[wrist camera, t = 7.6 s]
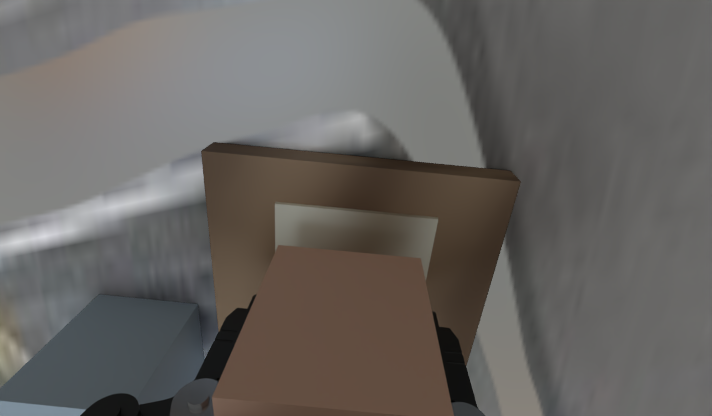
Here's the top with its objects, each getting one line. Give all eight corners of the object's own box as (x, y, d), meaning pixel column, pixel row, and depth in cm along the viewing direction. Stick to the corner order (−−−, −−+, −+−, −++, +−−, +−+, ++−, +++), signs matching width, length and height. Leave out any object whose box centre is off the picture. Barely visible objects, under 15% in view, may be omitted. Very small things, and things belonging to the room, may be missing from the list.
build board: (510, 170, 15) (522, 183, 14) (459, 352, 19) (465, 375, 18) (213, 142, 15) (199, 152, 14) (228, 330, 19) (218, 351, 18)
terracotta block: (420, 258, 13) (454, 420, 8) (401, 361, 15) (417, 544, 10) (278, 245, 13) (212, 397, 8) (278, 349, 15) (227, 526, 10)
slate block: (198, 303, 19) (127, 413, 13) (206, 373, 21) (148, 493, 16) (99, 293, 19) (-12, 399, 13) (117, 364, 21) (28, 481, 16)
